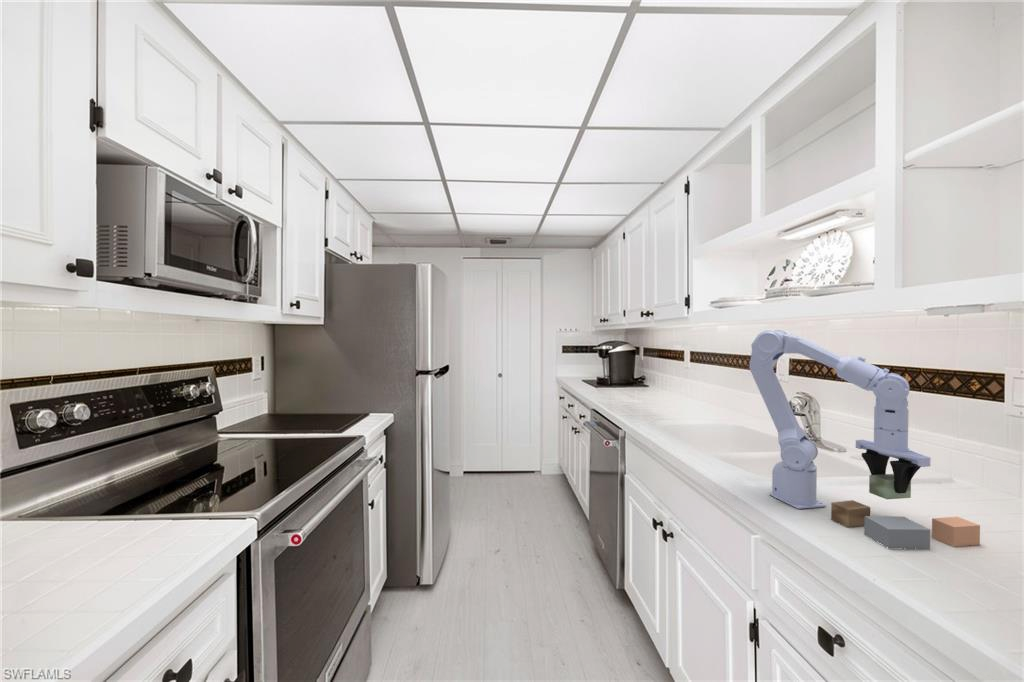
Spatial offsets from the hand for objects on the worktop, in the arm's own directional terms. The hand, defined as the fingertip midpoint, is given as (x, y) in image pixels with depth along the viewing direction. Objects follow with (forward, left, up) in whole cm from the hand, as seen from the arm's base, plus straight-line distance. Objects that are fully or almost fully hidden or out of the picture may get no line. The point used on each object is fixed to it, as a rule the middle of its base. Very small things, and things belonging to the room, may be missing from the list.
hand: (889, 488), depth 95 cm
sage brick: (0, 0, -2) cm, 2 cm away
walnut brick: (-2, -8, -8) cm, 11 cm away
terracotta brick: (+9, +5, -8) cm, 13 cm away
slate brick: (+7, -7, -8) cm, 13 cm away
